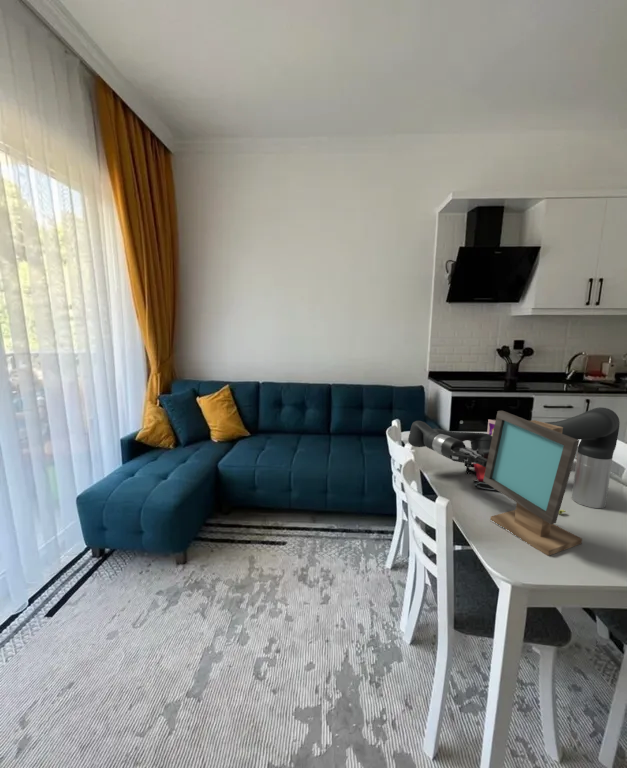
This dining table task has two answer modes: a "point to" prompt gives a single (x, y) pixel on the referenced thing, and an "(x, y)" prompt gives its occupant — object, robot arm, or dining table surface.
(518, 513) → the framed display stand
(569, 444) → the picture frame
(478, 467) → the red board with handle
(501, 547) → the dining table surface
